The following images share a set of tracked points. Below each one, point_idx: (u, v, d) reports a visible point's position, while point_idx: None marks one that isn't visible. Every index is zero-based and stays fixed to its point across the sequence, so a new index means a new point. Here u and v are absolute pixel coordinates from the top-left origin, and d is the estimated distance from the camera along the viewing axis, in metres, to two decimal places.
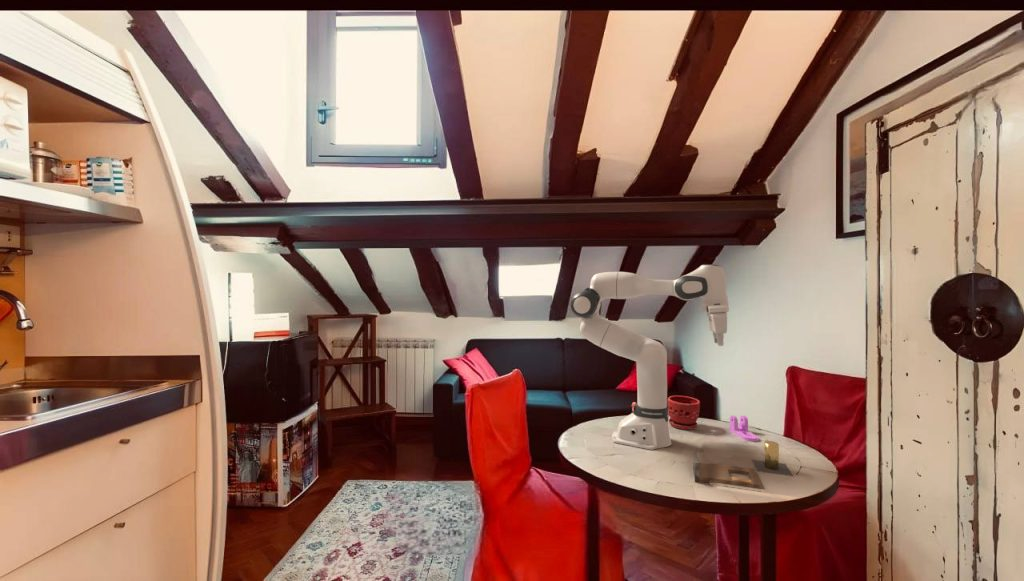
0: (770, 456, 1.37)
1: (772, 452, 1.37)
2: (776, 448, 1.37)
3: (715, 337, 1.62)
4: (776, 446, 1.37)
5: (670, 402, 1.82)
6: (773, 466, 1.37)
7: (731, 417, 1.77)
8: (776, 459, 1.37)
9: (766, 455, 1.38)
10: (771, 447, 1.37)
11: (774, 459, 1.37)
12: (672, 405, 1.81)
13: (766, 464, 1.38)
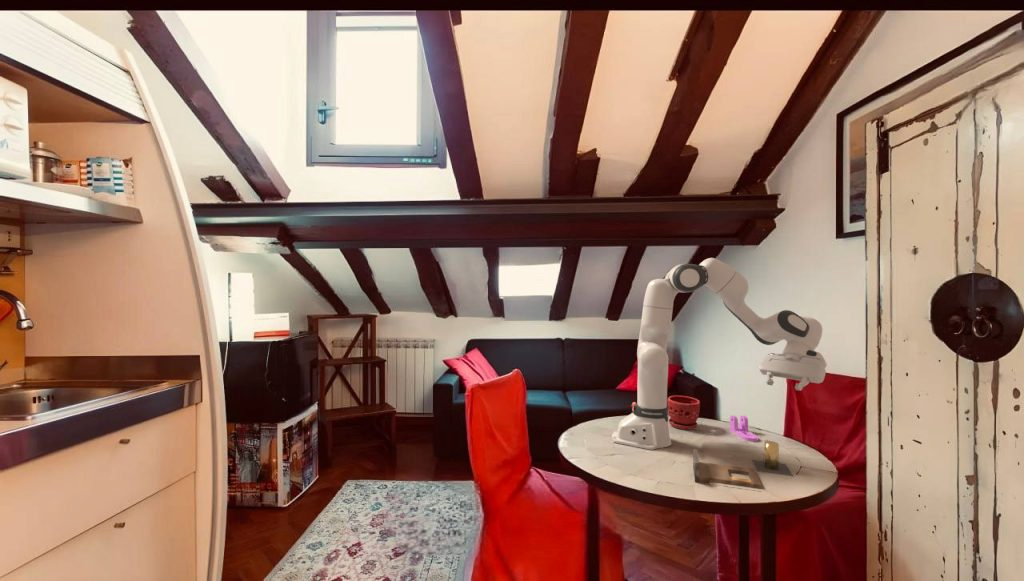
0: (770, 456, 1.37)
1: (772, 452, 1.37)
2: (776, 448, 1.37)
3: (770, 378, 1.52)
4: (776, 446, 1.37)
5: (670, 402, 1.82)
6: (773, 466, 1.37)
7: (731, 417, 1.77)
8: (776, 459, 1.37)
9: (766, 455, 1.38)
10: (771, 447, 1.37)
11: (774, 459, 1.37)
12: (672, 405, 1.81)
13: (766, 464, 1.38)
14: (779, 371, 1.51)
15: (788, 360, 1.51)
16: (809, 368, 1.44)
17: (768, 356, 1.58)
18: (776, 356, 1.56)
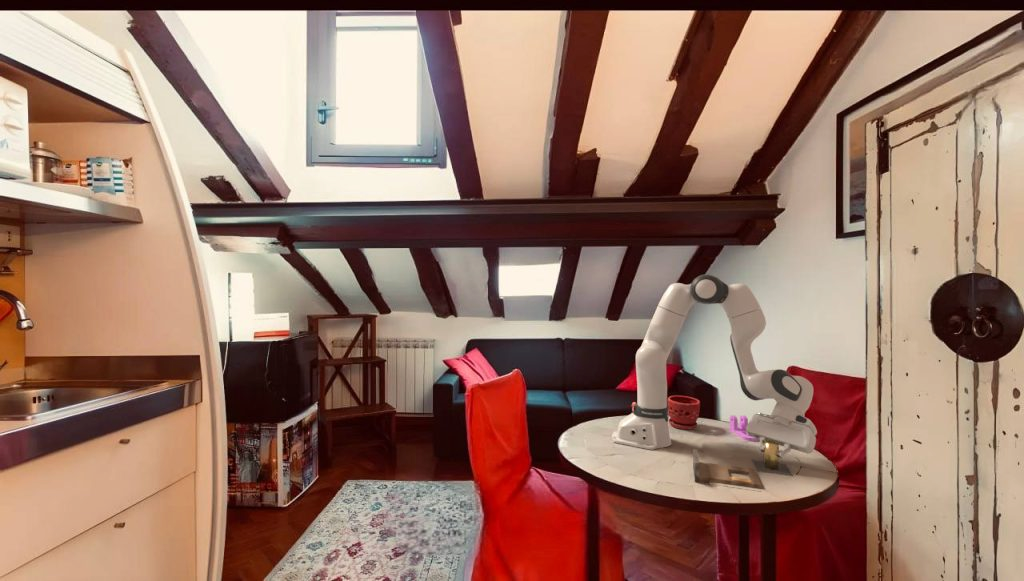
0: (770, 456, 1.37)
1: (772, 452, 1.37)
2: (776, 448, 1.37)
3: (763, 444, 1.42)
4: (776, 446, 1.37)
5: (670, 402, 1.82)
6: (773, 466, 1.37)
7: (731, 417, 1.77)
8: (776, 459, 1.37)
9: (766, 455, 1.38)
10: (771, 447, 1.37)
11: (774, 459, 1.37)
12: (672, 405, 1.81)
13: (766, 464, 1.38)
14: (767, 436, 1.42)
15: (776, 424, 1.42)
16: (798, 436, 1.35)
17: (756, 417, 1.49)
18: (764, 418, 1.47)
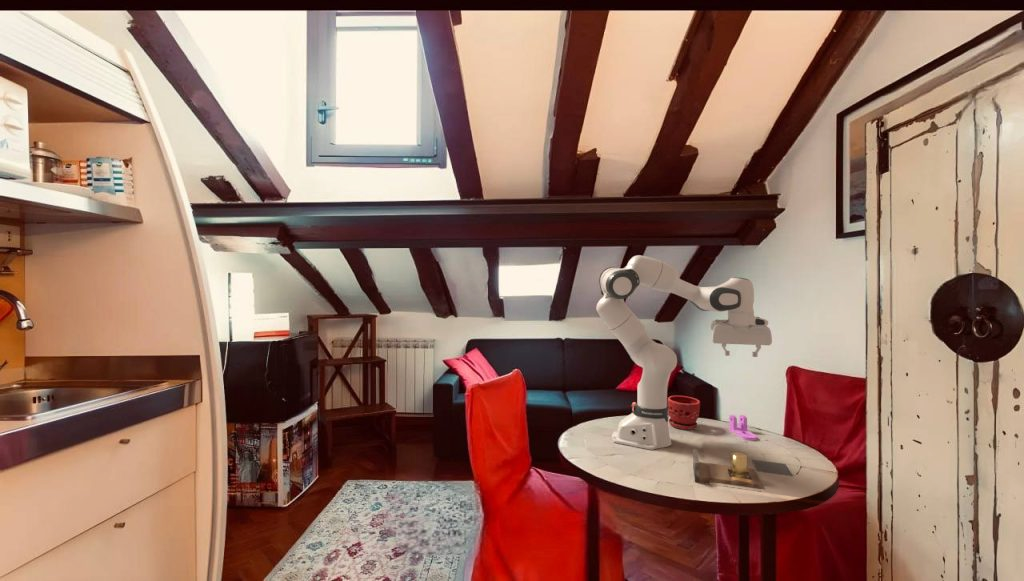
0: (738, 468, 1.30)
1: (739, 465, 1.30)
2: (743, 460, 1.30)
3: (726, 350, 1.63)
4: (743, 458, 1.30)
5: (670, 402, 1.82)
6: None
7: (730, 416, 1.78)
8: (744, 472, 1.30)
9: (733, 468, 1.31)
10: (738, 459, 1.30)
11: (741, 472, 1.30)
12: (672, 405, 1.81)
13: None
14: (734, 343, 1.61)
15: (738, 329, 1.60)
16: (760, 336, 1.57)
17: (717, 327, 1.63)
18: (725, 326, 1.62)
